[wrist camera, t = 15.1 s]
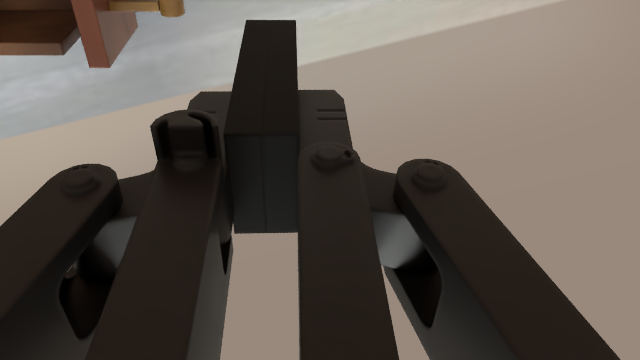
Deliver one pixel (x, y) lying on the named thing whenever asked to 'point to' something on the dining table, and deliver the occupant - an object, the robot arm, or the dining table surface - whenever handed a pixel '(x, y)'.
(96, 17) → the drawer
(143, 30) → the dining table surface
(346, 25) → the dining table surface
